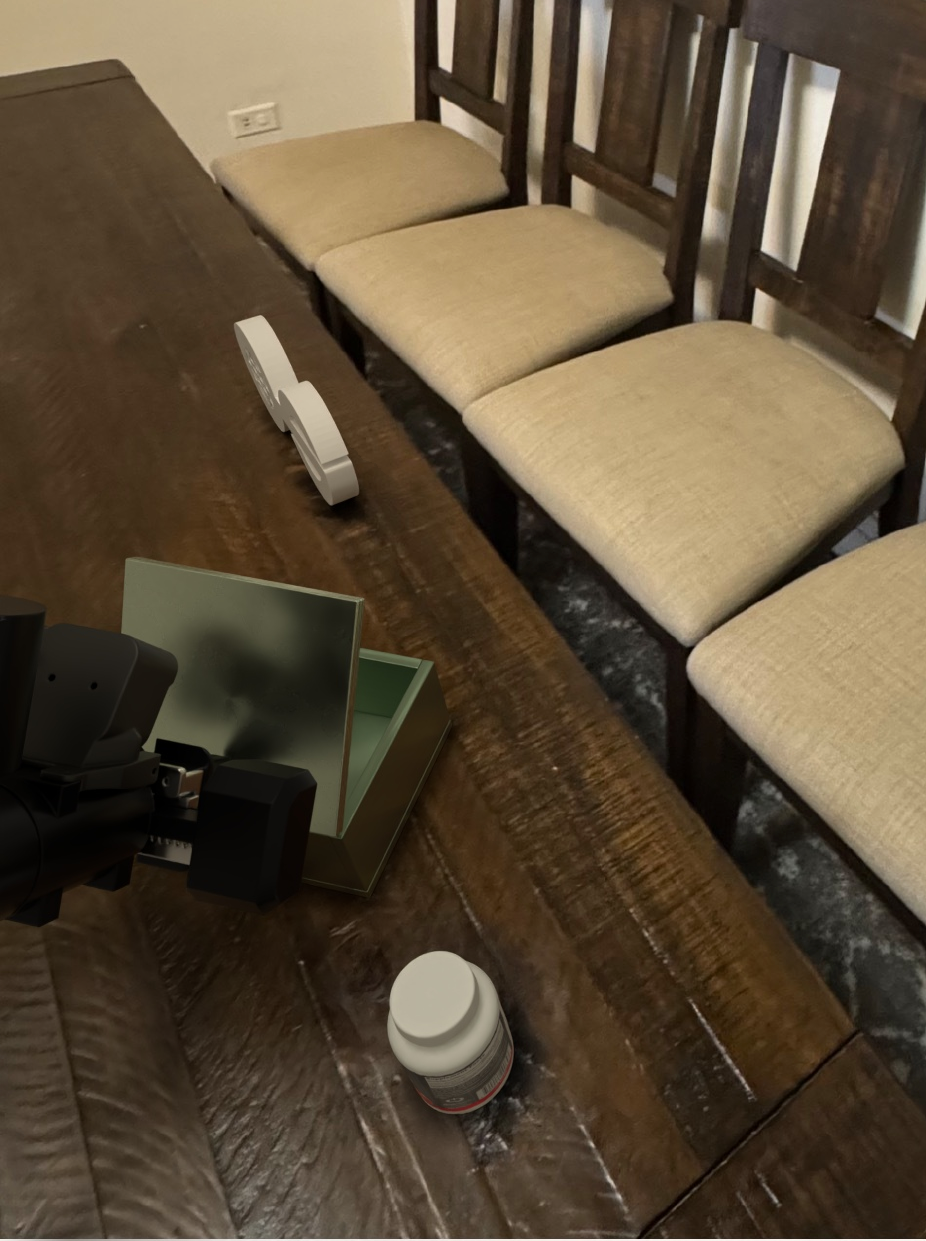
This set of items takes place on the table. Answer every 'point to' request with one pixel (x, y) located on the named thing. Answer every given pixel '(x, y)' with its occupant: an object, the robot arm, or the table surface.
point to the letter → (297, 410)
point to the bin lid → (253, 670)
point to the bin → (381, 769)
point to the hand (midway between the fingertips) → (221, 765)
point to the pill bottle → (449, 1032)
